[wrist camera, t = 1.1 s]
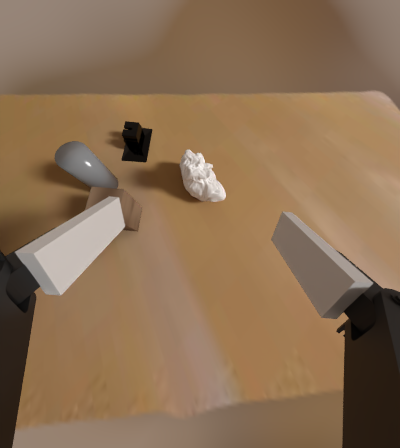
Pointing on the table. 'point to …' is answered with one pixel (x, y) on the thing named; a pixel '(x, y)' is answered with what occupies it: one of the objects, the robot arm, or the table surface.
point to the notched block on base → (136, 142)
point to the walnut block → (128, 204)
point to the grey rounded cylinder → (84, 165)
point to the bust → (200, 178)
